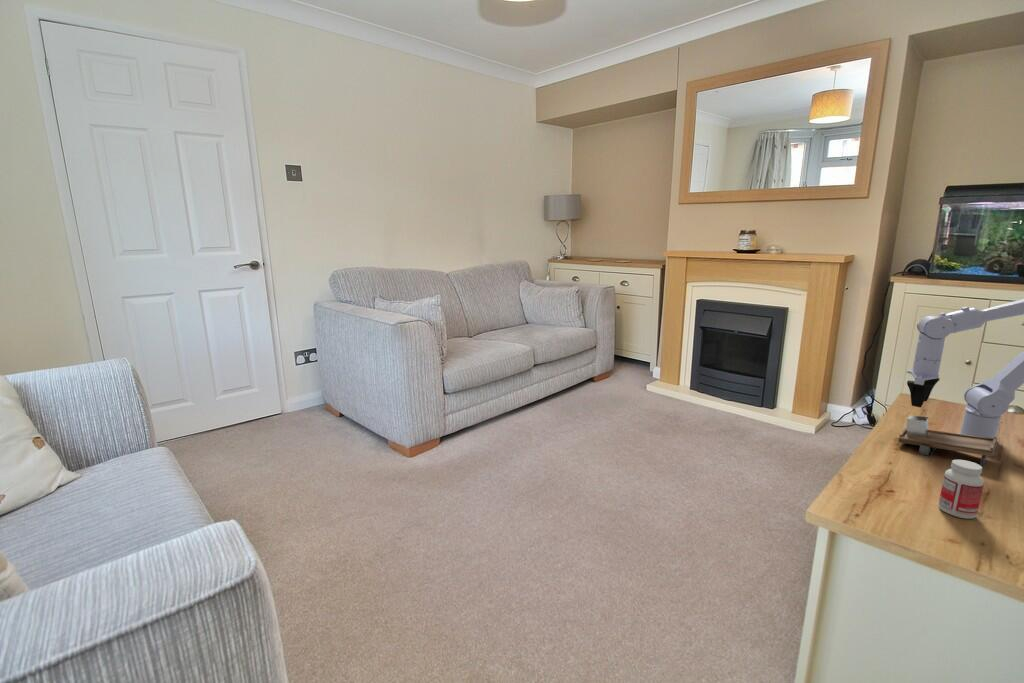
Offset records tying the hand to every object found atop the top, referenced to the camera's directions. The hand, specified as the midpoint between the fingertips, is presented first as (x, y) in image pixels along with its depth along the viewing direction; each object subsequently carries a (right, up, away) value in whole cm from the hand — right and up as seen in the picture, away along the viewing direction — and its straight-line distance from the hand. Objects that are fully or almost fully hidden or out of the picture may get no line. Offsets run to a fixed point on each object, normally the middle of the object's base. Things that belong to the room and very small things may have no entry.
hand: (919, 403), depth 141 cm
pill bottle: (-23, -19, -37) cm, 48 cm away
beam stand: (-2, -12, -9) cm, 15 cm away
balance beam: (-1, -9, -10) cm, 14 cm away
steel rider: (-5, -8, -6) cm, 11 cm away
